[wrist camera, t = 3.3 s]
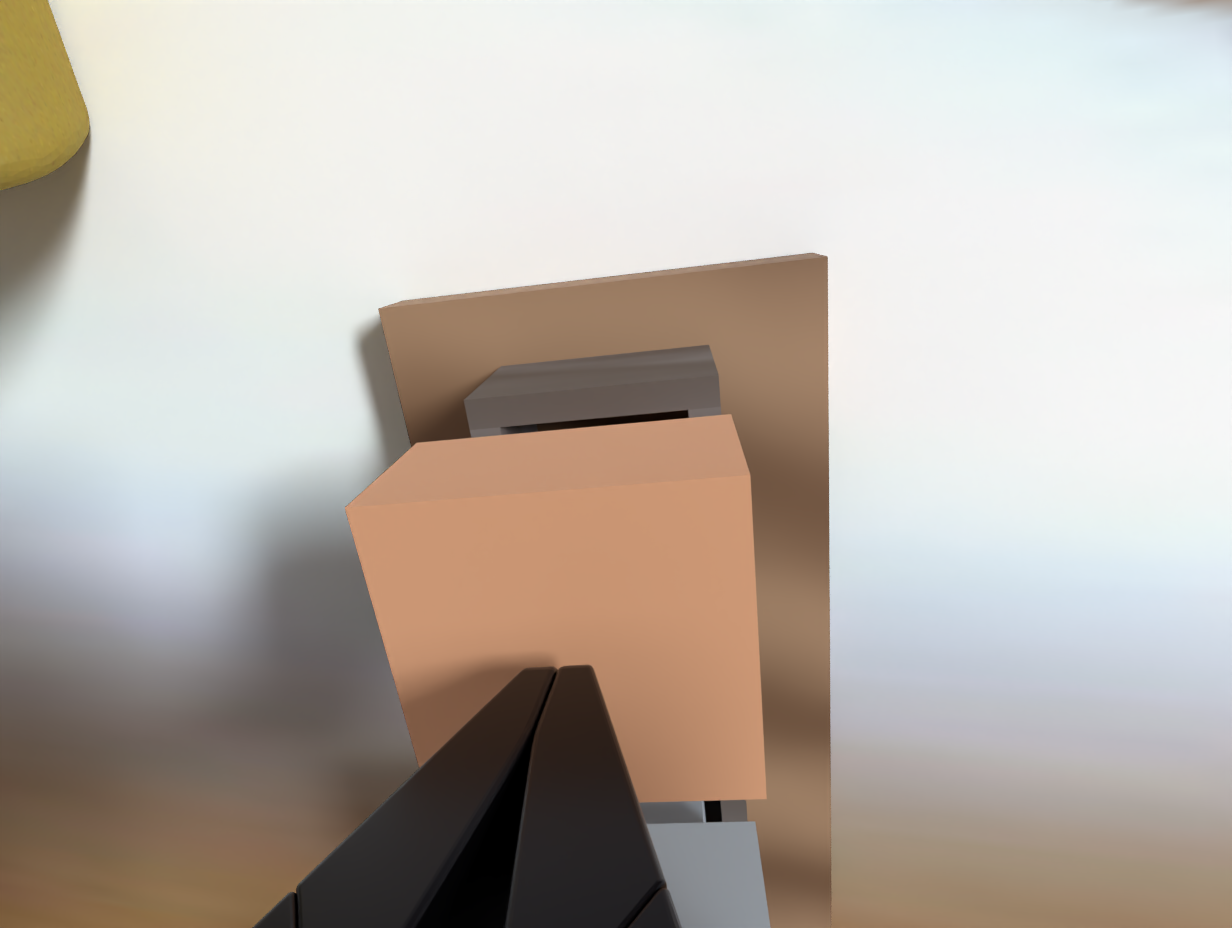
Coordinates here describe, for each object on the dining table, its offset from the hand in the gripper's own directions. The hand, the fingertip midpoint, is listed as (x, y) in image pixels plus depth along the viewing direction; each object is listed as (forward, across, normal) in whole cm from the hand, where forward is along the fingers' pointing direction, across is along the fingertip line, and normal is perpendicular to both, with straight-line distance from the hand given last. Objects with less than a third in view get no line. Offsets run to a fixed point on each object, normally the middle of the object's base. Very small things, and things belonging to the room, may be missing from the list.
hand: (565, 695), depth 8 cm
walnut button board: (+10, 0, +8) cm, 13 cm away
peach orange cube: (+6, 0, 0) cm, 6 cm away
